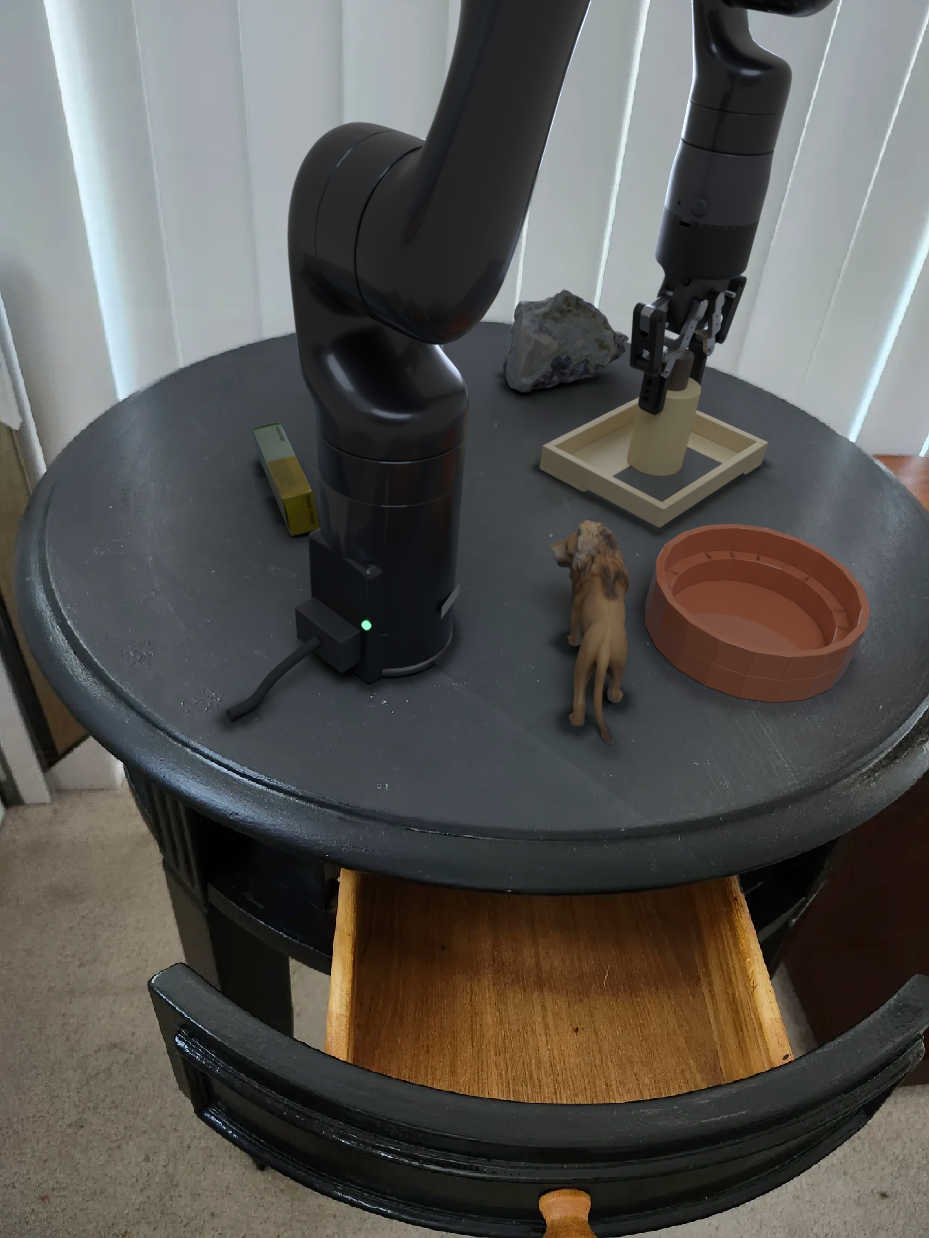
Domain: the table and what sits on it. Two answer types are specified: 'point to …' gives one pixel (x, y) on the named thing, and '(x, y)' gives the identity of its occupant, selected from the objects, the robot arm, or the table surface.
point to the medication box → (286, 479)
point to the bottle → (666, 424)
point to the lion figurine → (596, 615)
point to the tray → (604, 451)
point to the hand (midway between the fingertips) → (668, 400)
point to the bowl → (755, 612)
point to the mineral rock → (559, 342)
